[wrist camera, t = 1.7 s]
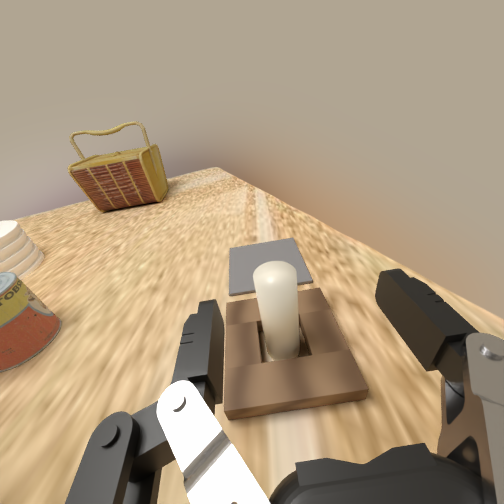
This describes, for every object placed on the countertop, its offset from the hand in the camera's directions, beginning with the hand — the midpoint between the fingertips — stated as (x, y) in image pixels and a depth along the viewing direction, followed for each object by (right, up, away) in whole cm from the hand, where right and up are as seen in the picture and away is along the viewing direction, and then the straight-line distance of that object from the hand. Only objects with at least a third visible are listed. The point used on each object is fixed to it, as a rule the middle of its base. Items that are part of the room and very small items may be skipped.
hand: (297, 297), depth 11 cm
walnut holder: (+2, -12, +21) cm, 24 cm away
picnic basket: (-54, +25, +90) cm, 108 cm away
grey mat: (+1, 0, +38) cm, 38 cm away
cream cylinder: (+2, -12, +21) cm, 24 cm away
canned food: (-44, -14, +30) cm, 55 cm away
